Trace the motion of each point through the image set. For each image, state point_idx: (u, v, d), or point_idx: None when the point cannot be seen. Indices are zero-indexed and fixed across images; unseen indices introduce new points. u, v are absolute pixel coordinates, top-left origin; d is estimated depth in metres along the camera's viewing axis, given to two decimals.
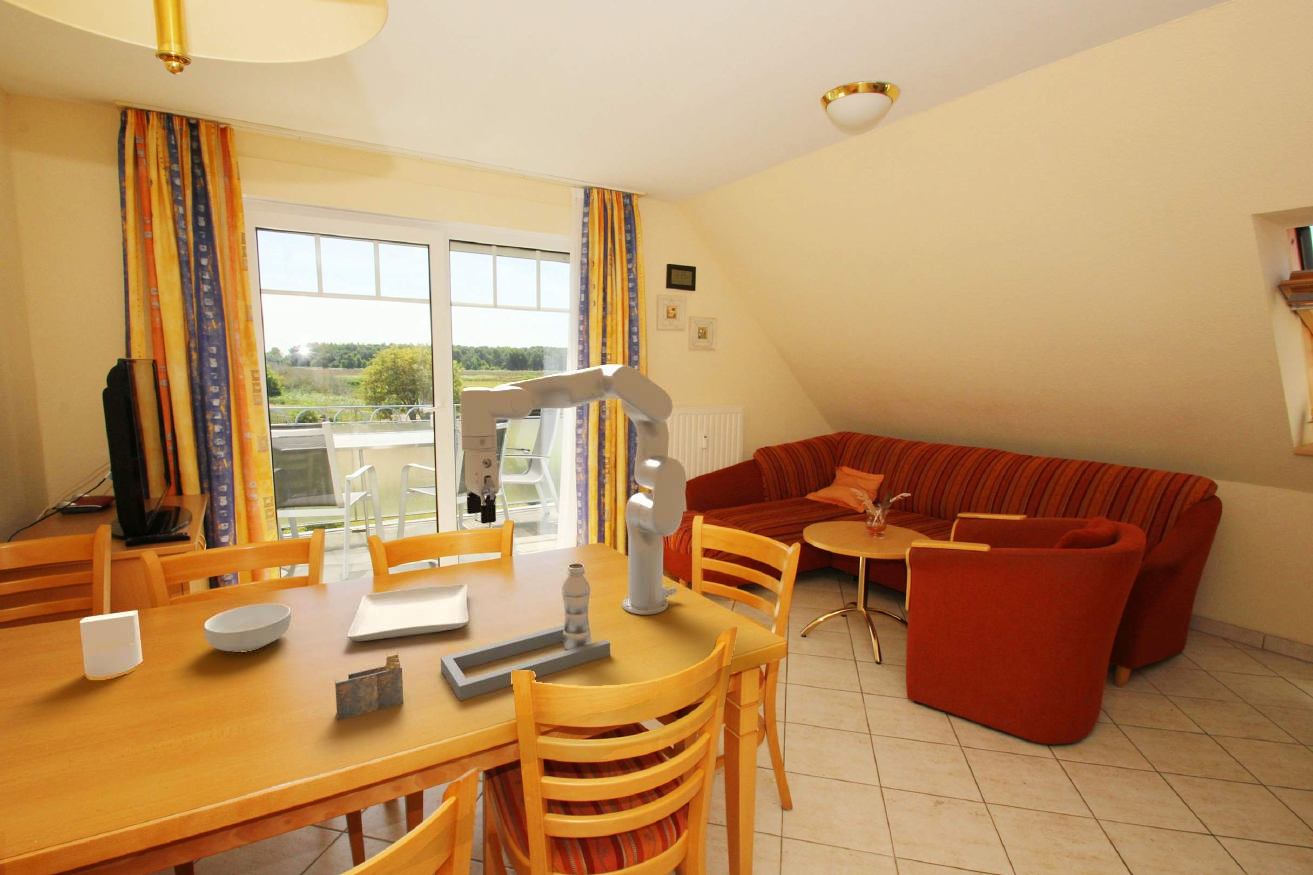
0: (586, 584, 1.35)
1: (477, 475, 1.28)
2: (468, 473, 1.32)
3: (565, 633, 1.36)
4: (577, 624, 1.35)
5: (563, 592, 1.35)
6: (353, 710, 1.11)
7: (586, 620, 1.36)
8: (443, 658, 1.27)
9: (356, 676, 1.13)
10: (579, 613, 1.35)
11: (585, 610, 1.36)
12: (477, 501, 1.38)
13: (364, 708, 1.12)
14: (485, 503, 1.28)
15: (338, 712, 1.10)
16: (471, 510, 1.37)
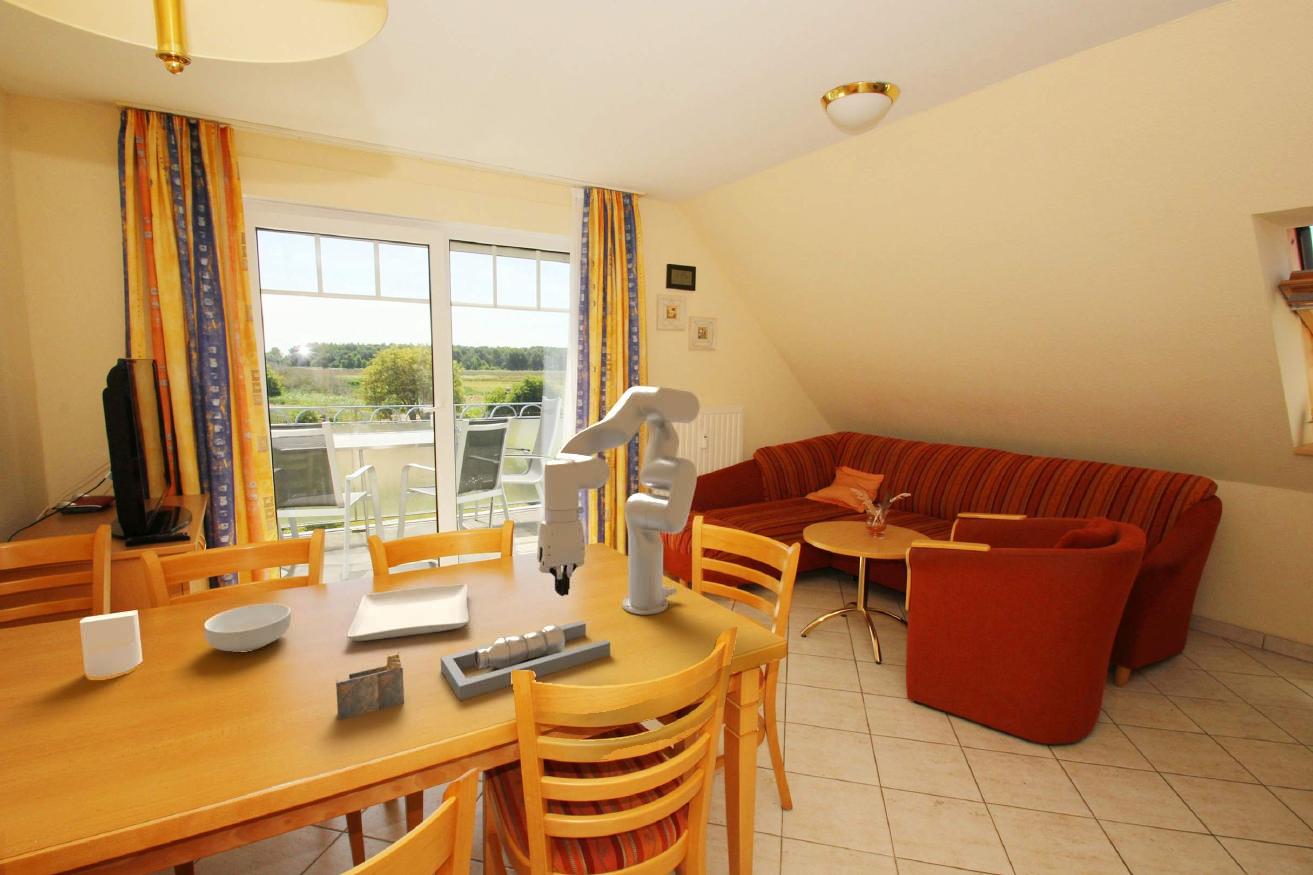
0: (496, 644, 1.27)
1: (583, 542, 1.34)
2: (564, 547, 1.31)
3: (547, 654, 1.33)
4: (538, 645, 1.31)
5: (506, 667, 1.28)
6: (354, 710, 1.11)
7: (534, 635, 1.32)
8: (443, 658, 1.27)
9: (357, 676, 1.13)
10: (527, 646, 1.30)
11: (523, 639, 1.30)
12: None
13: (365, 708, 1.12)
14: None
15: (339, 712, 1.10)
16: None
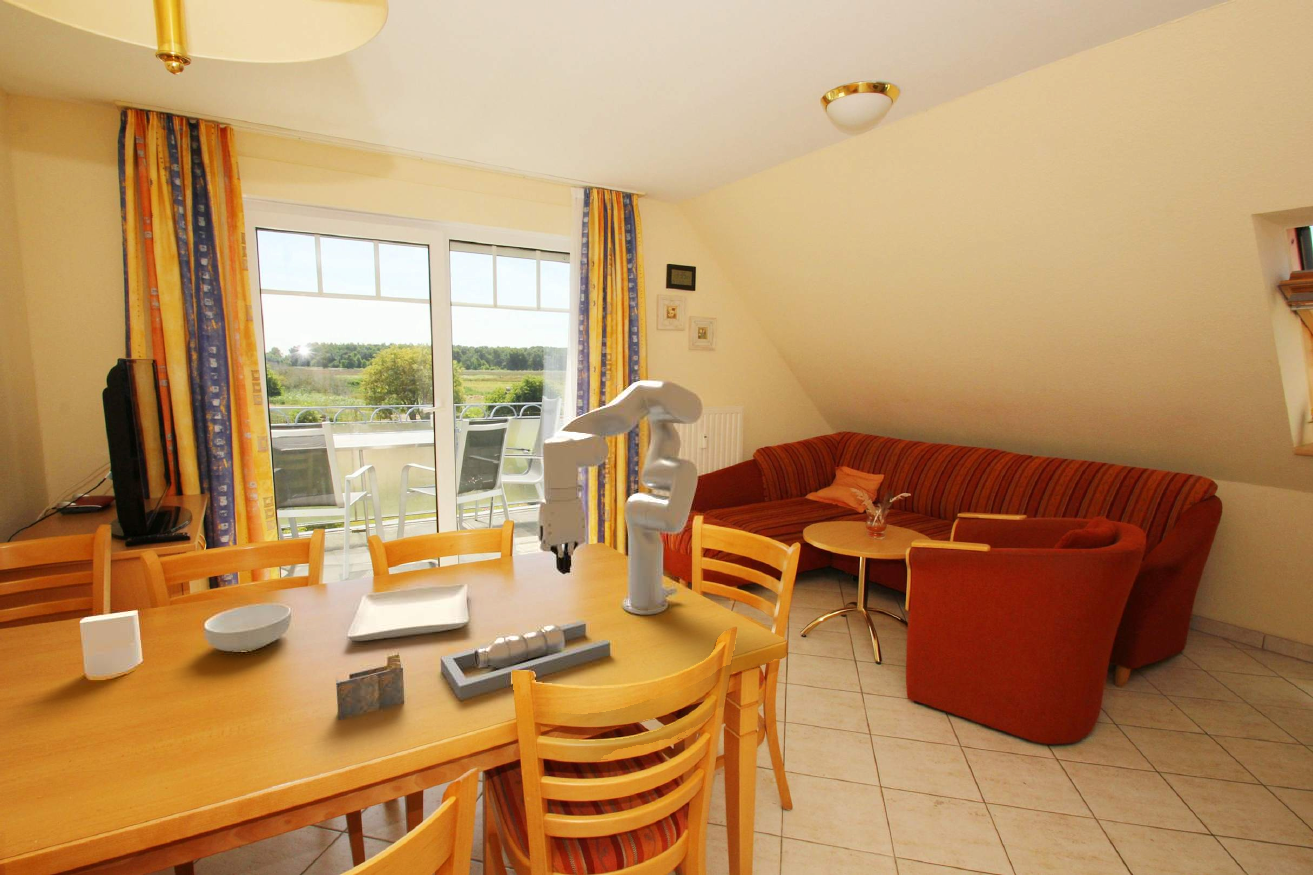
0: (496, 643, 1.27)
1: (584, 520, 1.34)
2: (564, 525, 1.30)
3: (547, 654, 1.33)
4: (538, 644, 1.31)
5: (506, 667, 1.28)
6: (354, 710, 1.11)
7: (533, 635, 1.32)
8: (443, 658, 1.27)
9: (357, 676, 1.13)
10: (526, 645, 1.30)
11: (523, 638, 1.30)
12: None
13: (365, 708, 1.12)
14: (572, 551, 1.34)
15: (339, 712, 1.10)
16: None
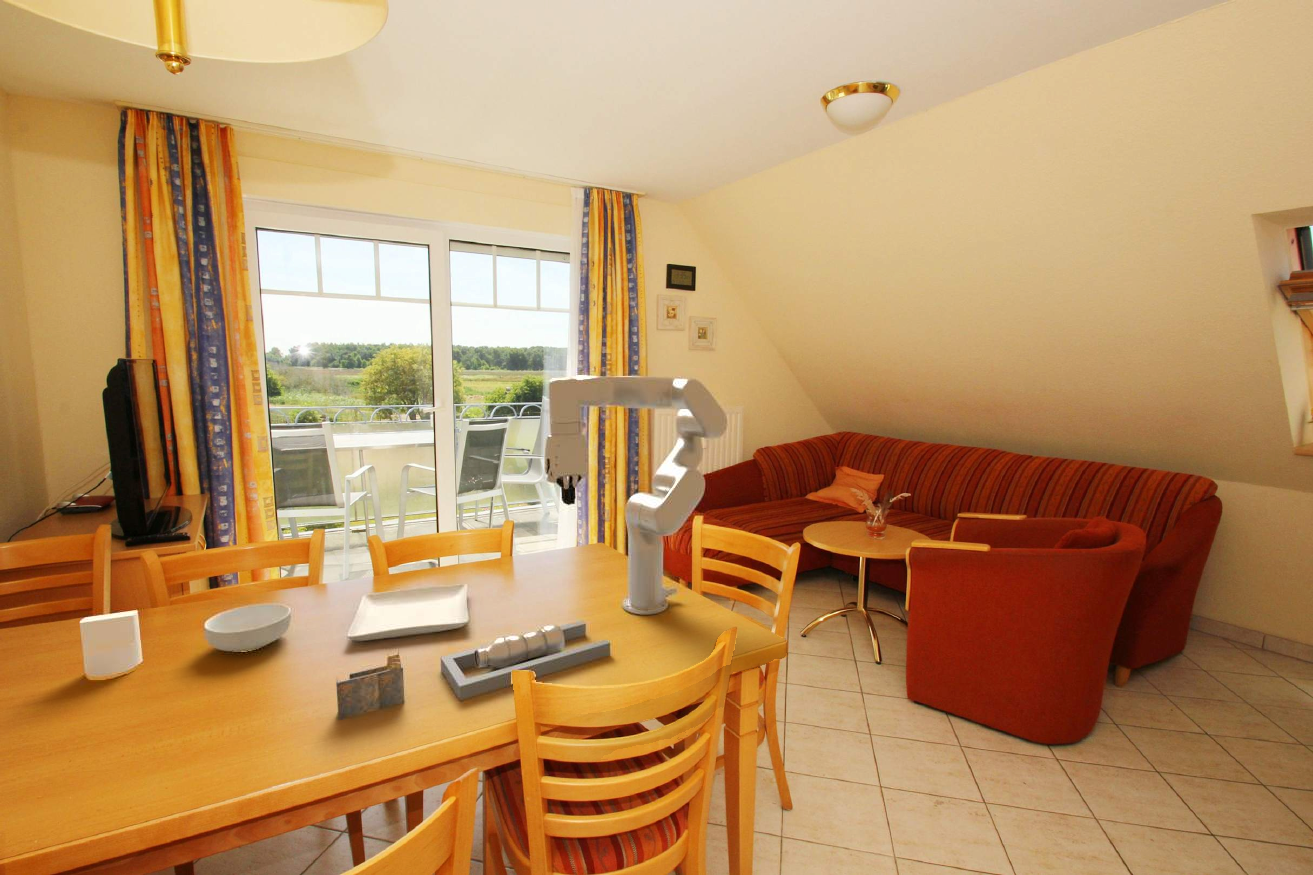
0: (496, 643, 1.27)
1: (587, 454, 1.44)
2: (570, 458, 1.41)
3: (547, 654, 1.33)
4: (538, 644, 1.31)
5: (506, 666, 1.28)
6: (354, 710, 1.11)
7: (533, 634, 1.32)
8: (443, 658, 1.27)
9: (357, 676, 1.13)
10: (526, 645, 1.30)
11: (523, 638, 1.31)
12: None
13: (365, 708, 1.12)
14: None
15: (339, 712, 1.10)
16: None
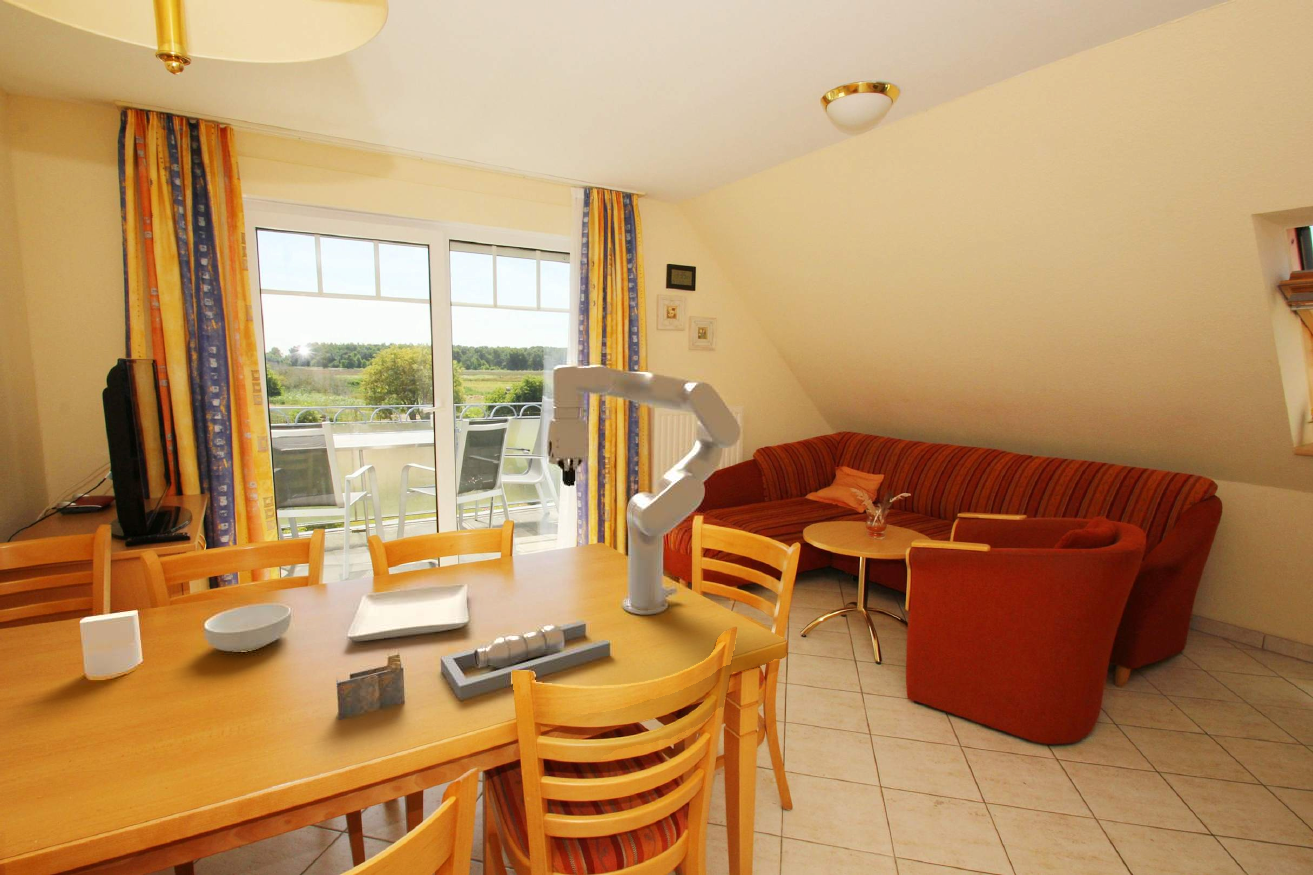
0: (495, 643, 1.28)
1: (587, 439, 1.52)
2: (570, 441, 1.49)
3: (547, 653, 1.33)
4: (537, 644, 1.31)
5: (506, 666, 1.28)
6: (354, 710, 1.11)
7: (533, 634, 1.32)
8: (443, 658, 1.27)
9: (357, 676, 1.13)
10: (526, 644, 1.30)
11: (523, 638, 1.31)
12: None
13: (365, 708, 1.12)
14: None
15: (339, 712, 1.10)
16: None
